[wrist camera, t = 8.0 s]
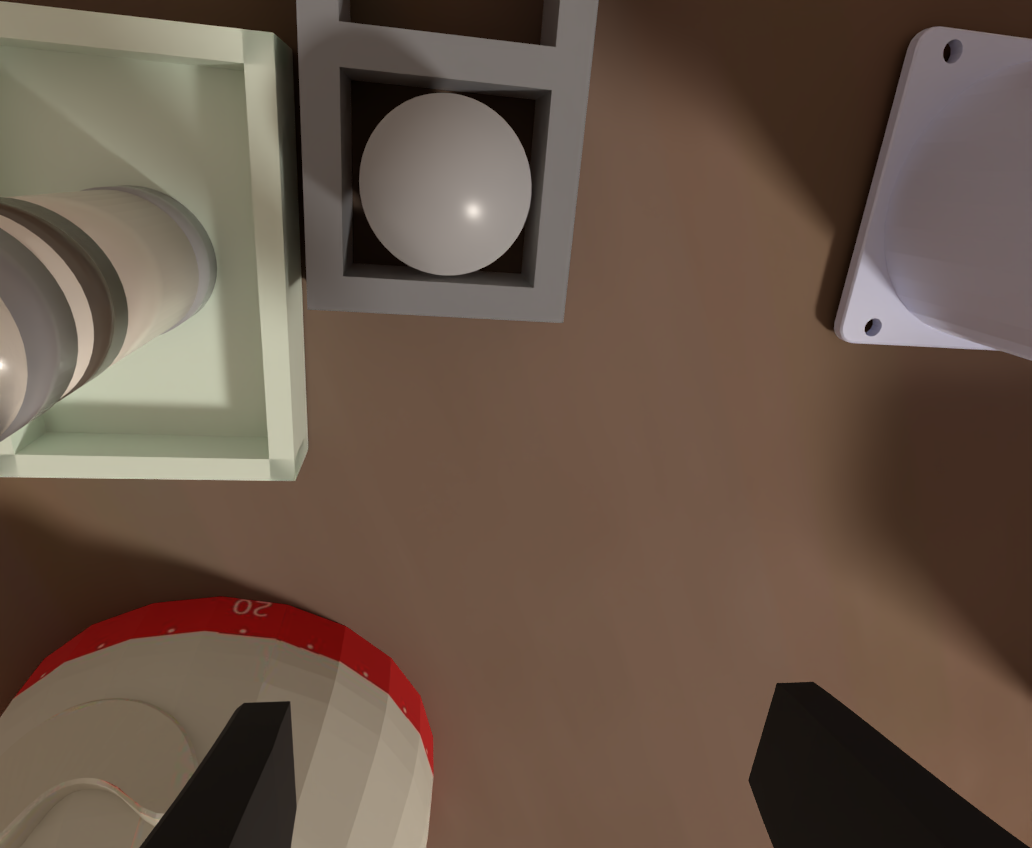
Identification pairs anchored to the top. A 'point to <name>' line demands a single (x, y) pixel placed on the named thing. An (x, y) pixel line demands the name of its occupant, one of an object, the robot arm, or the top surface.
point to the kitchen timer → (212, 726)
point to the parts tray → (203, 191)
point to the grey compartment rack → (443, 165)
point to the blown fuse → (90, 287)
